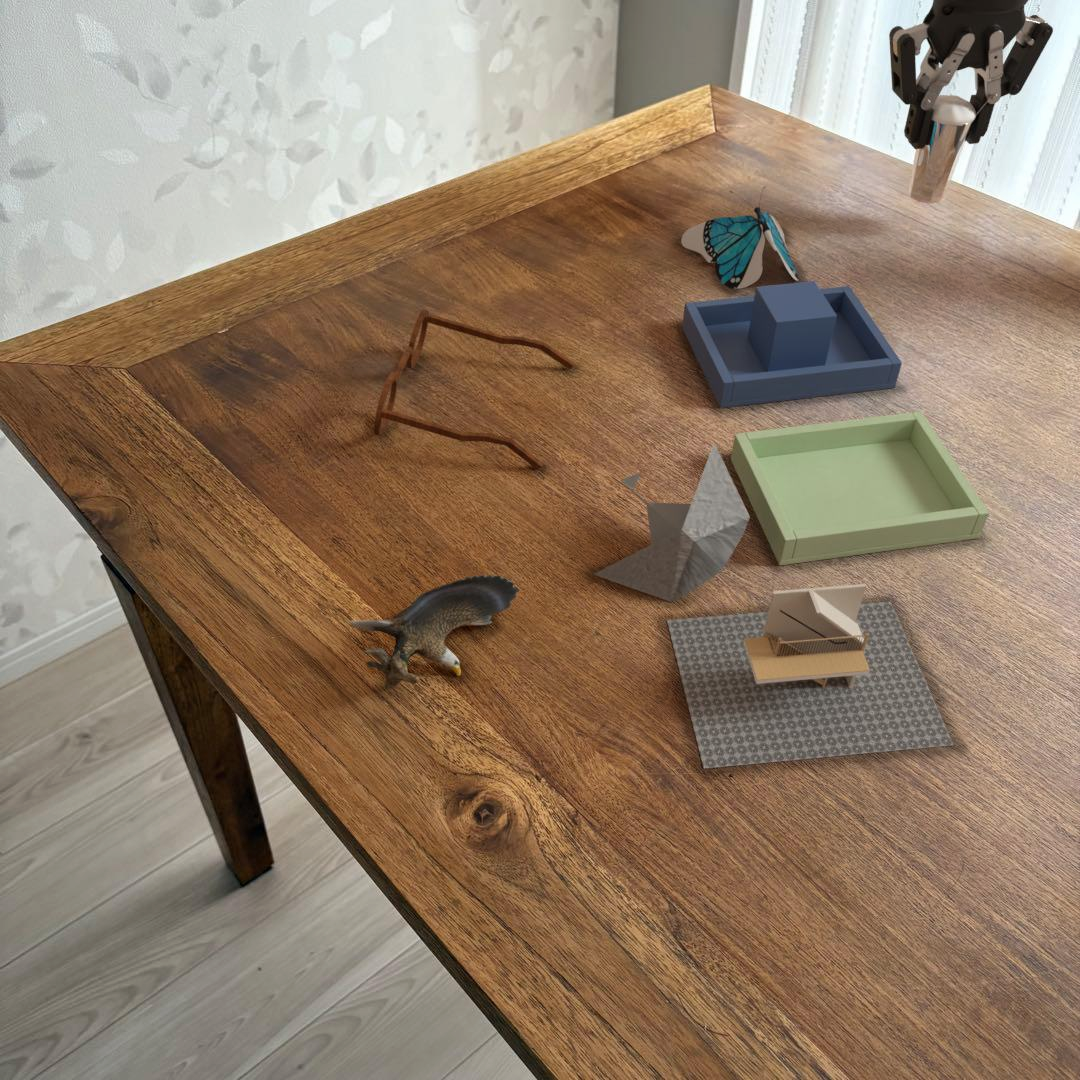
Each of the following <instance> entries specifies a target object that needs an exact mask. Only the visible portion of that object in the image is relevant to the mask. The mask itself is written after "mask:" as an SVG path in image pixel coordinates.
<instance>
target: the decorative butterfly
mask: <svg viewBox="0 0 1080 1080" xmlns="http://www.w3.org/2000/svg"><path fill="white" fill-rule="evenodd" d="M765 188H766V185H765V186H764V187H763V189H762V191H761V192H764V189H765ZM729 192H730V193H732V194H735V195H736V196H737V197H738V198H740V199H741V200H743V201H744V202H746V203H747V204H748V205H750V206H751V207H752V208H753V211H754V213H755V214H756V217H757V218H756V217H755V216H754V215H753V216H752V215H749V214H748V215H742V216H741V215H740V216H726V217H717V218H713V219H709V220H706V221H703V222H701V223H698V224H696V225H693V226H691V227H689V228H688V229H687V230H685V231H684V233H683V234H682V237H681V240H680V241H681V245H682V246H683V247H684V248H685V249H687V250H690V251H693V252H696V253H698V254H700V255H701V256H702V257H703V258H704V259H705V261H706V262H707V263H709V264H714V263H715V274H716V276H717V279H718V280H719V281H720V283H722V285H723V286H725V287H726V288H728V289H731V290H740V289H744V288H747V287H749V286H750V285H753V284H754V283H756V282H757V281H758V280H760V278H761V276H762V274H763V269H764V268H763V252H764V248H765V246H766V245H765V243H766V240H767V242H768V244H769V245H770V247H771V248H772V249H773V250H774V252H777V254H778V255H779V257H780V259H781V261H782V263H783V265H784V268H786V271H787V272H788V273H789V275H790V276H791V277H792V278H793V280H795V281H797V282H798V281H800V280H799V278H800V277H799V275H798V272H797V270H796V267H795V265H794V263H793V261H792V259H791V257H790V255H789V254H790V252H789V249H788V247H787V245H786V241H785V234H784V231H783V229H782V227H781V225H780V223H779V222H778V220H777V219H776V218H775V217H774V216H773V215H772V214H770V213H768V212H766V211H765V212H763V213H762V211H761V208H760V206H761V203H759V204H758V206H756V207H754V206H753V205H752V204H750V203H749V202H748V201H746V200H745V199H743V198H742V197H740V196H739V195H738V194H736V193H735V192H734V191H732V190H730V191H729ZM762 195H763V193H760V196H762ZM761 199H762V197H760V198H759V200H761Z"/></svg>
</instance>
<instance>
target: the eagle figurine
mask: <svg viewBox="0 0 1080 1080" xmlns="http://www.w3.org/2000/svg"><path fill="white" fill-rule="evenodd" d="M501 576H502V575H500V574H499V575H493V574H489V575H484V574H481V575H472V576H467V577H464V578H460V579H456V580H455V581H451V582H449V583H446V584H441V585H439V586H436V587H434V588H432V589H430V590H427V591H425V592H423V593H421V594H420V595H419V596H416V597H415V598H414V599H413V601H412V602H411V604H410V605H408V606H407V607H406V608H405V609H404V608H403V609H402V610H401V611H400V612H398V613H397V614H396V615H394V616H393V617H392V618H388V619H379V620H375V619H361V620H350V621H348V623H349V624H350V626H351V627H353V628H358V629H361V630H365V631H368V632H379V633H383V634H386V635H388V636H390V637H393V638H394V645H393V651H392V654H391V655H390V656H389V657H388V653H387V652H386V651H385V649H384V648H382V647H378V648H368V649H366V650H364V654H367V655H374V656H375V657H376V658H377V660H378V661H379V662H380V663H379V662H378V661H376V660H367V661H366V665H367V667H369V668H373V669H374V668H375V669H376V670H377V671H378V672H381V674H383V675H384V677H385V680H384V688H385V690H390V689H391V688H392V687H394V686H395V687H396V686H398V685H400V684H401V683H402V682H405V683H409V684H412V685H416V684H417V683H418V682H419V681H420V677H419V676H418V675H416V674H414V673H411V672H410V673H409V671H408V664H409V662H410V659H411V658H412V657H413V656H414V655H416V654H417V655H420V656H422V657H423V658H424V659H427V660H430V661H433V662H437V663H438V664H441V665H443V666H445V667H446V668H447V669H450V670H451V671H453V673H455V675H456V676H457V677H460V676H461V675H462V670H461V666H460V660H459V659H458V657H457V656H456V655H455V654H454V652H452V651H451V650H450V648H448V647H447V646H446V645H445V639H446V637H447V636H448V635H449V634H450V633H451V632H452V631H454V630H455V629H456V628H460V627H464V626H488V625H492V620H491V619H492V615H496V614H499V613H501V612H503V611H505V610H508V609H509V608H510V607H511V605H512V601H513V600H515V599H516V598H517V593H518V592H519V591H520V589H519V587H517V586H514V585H515V582H514V581H512V580H509V579H508V578H507V577H501Z"/></svg>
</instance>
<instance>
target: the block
mask: <svg viewBox="0 0 1080 1080" xmlns="http://www.w3.org/2000/svg"><path fill="white" fill-rule="evenodd" d="M820 289H821V288H820V287H819V286H818V284H817V283H816V281H814V280H811V281H802V282H791V283H782V284H781V283H780V284H772V285H771V284H770V285H761V286H756V287H755V291H754V296H755V297H754V303H753V309H752V315H751V321H750V327H749V333H748V340H749V341H750V343H751V345H752V347H753V349H754V351H755V353H756V354H757V356H758V358H759V360H760V362H761V364H762V366H763V367H764V369H765V371H766V372H770V371H779V370H788V369H796V368H805V367H814V366H823V365H826V360H827V356H828V352H829V347H830V343H831V339H832V334H833V330H834V326H835V321H836V317H837V315H836V313H835V312H834V310H833V309H832V307H831V306H830V304H829V303H828V301H827V300H826V298H825V296H824V295H823V293H822V292H821V290H820Z"/></svg>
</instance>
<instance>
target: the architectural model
mask: <svg viewBox="0 0 1080 1080" xmlns="http://www.w3.org/2000/svg"><path fill="white" fill-rule="evenodd" d="M866 589H867V584H866V583H858V584H846V585H844V584H843V585H834V586H833V585H832V586H831V585H830V586H821V587H807V588H796V589H784V590H773V591H772V593H771V597H770V602H769V606H768V610H767V611H758V612H746V613H733V614H722V615H711V616H709V615H708V616H698V617H697V616H696V617H687V618H674V619H666V622H667V626H668V630H669V635H670V639H671V643H672V647H673V651H674V655H675V659H676V663H677V667H678V670H679V671H678V672H679V675H680V680H681V684H682V687H683V691H684V695H685V699H686V704H687V707H688V711H689V715H690V719H691V723H692V727H693V731H694V735H695V739H696V744H697V748H698V751H699V755H700V760H701V763H702V767H703V769H705V770H706V769H713V768H725V767H734V766H735V767H737V766H747V765H755V764H756V765H757V764H768V763H769V764H770V763H778V762H780V763H781V762H787V761H788V762H789V761H790V762H791V761H799V760H811V759H812V760H813V759H821V758H832V757H843V756H853V755H862V754H864V755H865V754H875V753H886V752H895V751H905V750H916V749H918V750H919V749H927V748H939V747H949V746H950V747H951V746H954V745H955V744H954V742H953V740H952V738H951V735H950V733H949V731H948V729H947V727H946V724H945V722H944V720H943V718H942V715H941V713H940V710H939V708H938V706H937V704H936V701H935V699H934V697H933V695H932V691H931V690H930V687H929V686H928V683H927V681H926V678H925V676H924V674H923V672H922V669H921V667H920V665H919V663H918V660H917V658H916V656H915V653H914V651H913V649H912V647H911V645H910V642H909V640H908V637H907V636H906V633H905V631H904V628H903V627H902V624H901V622H900V620H899V617H898V615H897V613H896V610H895V608H894V605H893V603H892V601H881V602H867V603H862V602H863V598H864V596H865V592H866Z"/></svg>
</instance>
